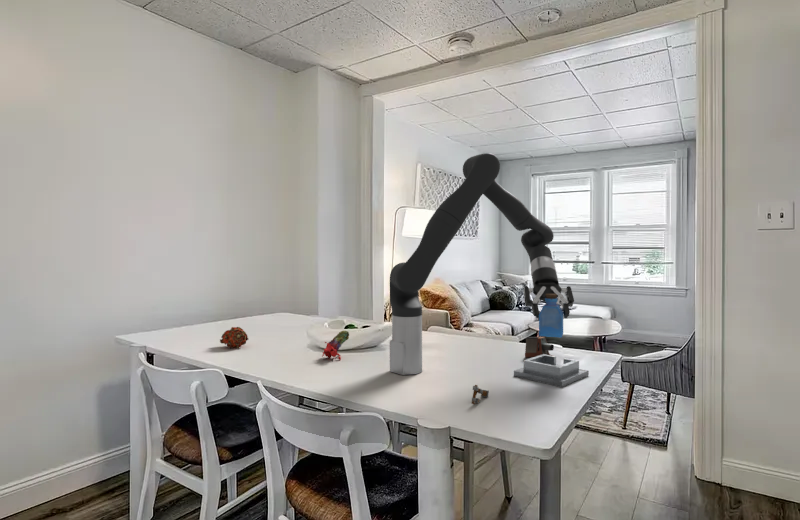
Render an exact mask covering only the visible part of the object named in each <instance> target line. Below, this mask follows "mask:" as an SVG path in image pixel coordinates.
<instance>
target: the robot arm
mask: <svg viewBox="0 0 800 520" xmlns="http://www.w3.org/2000/svg"><path fill="white" fill-rule="evenodd" d="M500 169H501V163H500V160H499V158H498V156H496V155H495V154H494V153H489V152H486V153H485V152H483V153H479V154H476V155H473V156H470V157H468V158H467V159H466V160H465V161H464V163H463V164H462V174H463V176H464V178H465V180H464V181H463V182H462V183H461V184H460V186H458V188H456V190H454V192H452V193H451V194H450V195H448V197H447V198H445V199H444V201H443V202H441V203H440V205H439V206H438V207H437V209H436V210H435V211H434V212H433V214H432V216H431V217H430V219H429V220H428V223H427V224H426V225H425V229H424V232H423V234H422V238H421V240H420V242H419V244H418V246H417V248H416V249H415V250H414V252H413V253H412V254H411V255H410V257H409V258H408V259H407V260H406V262H399V263H397V264H395V266H393V268H392V269H391V271H390V273H389V303H390V307H391V308H390V309H391V339H390V340H389V372H391V373H395V374H397V375H398V374H399V375H401V376H406V375H415V374H416V375H417V374H421V372H423V307H422V305H421V302H420V299H419V291H421V289H422V288H423V287H424V285H425V284H426V281H427V280H428V278H429V277H430V274H431V272H432V270H433V269H434V266H435V265H436V263H437V261H438V260H439V258H440V257H441V255H442V254H443V253H444V252H445V250H446V249H447V247H448V246H449V245H450V244H451V241H452V240H453V239H454V238H455V236H456V235H457V233H458V231H459V230H460V229H461V227H462V226H463V224H464V222H465V221H466V219H467V218H468V216H469V215H470V213H471V212H472V210H473V209H474V207H475V206H476V204H477V203H478V202H479V200H480V198H482V196H485V197H486V198H487V200H488V201H490V202H491V203H492V204H493V205H494V206H495V207H496V208H497V209H498V210H499V211H500V213H502V214H503V216H504V217H505V218H506V219H507V220H508V222H509V223H510V224H511V226H512V227H513V228H514V229H516V230H517V231H521V232H522V231H525V230H527V231H526V232H524V233H523V234H522V235H521V238H520V241H521V245H522V246H523V247H524V249H525V251H526V252H527V256H528V258H529V263H530V275H531V276H530V277H531V280H532V287H529V286H527V285H526V286H524V289H523V299H524V306H525V307H531V310H532V315H533V317H535V318H536V319H539V314H540V311H539V304H540V303H541V302H545V298H546V294H557V296H556V298H557V302H556V305H559V306H560V307H562V308H561V309H562V311H563V319H567V318H568V317H569V316H570V313H571V311H570V308H571V307H573V305H574V303H575V297H574V294H573V290H572V287H571V286H569V285H567V286H566V287H561V286H560V283H559V279H558V274H557V269H556V266H555V262H554V260H553V255H552V251H551V249H550V247H549V246H547V245H548V244H550V243H551V242H553V240H554V231H553V230H552V229H551V228H550V226H549V225H547V223H545V222H543V221H541V220H540V219H538V218H537V217H536V216H534V214H532V212H530V210H529V209H528V208H527V207H526V205H525V204H524V203H523V202H522V201H521V200H520V199H519V198H517V197H516V196H515V195H514V194H512V193H511V192H510V191H508V190H506V189H505V188H504V187H503V186H502V185H501V184H499V182H497V181H496V179H497V178H498V175H499V173H500ZM532 293H533V295H534V296H535V297H534V299H533V300H531V298H530V296H531V294H532ZM564 296H565V297H566V298H565V297H564Z"/></svg>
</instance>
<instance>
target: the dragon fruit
mask: <svg viewBox="0 0 800 520" xmlns="http://www.w3.org/2000/svg"><path fill="white" fill-rule="evenodd" d="M221 335H222V336H221V339H219V343H220V344H224V345H226V347H227V348H229V349H232V348H235V349H240V348H241V347H242V346H244V345H246V343H247V341H249V336H248V334H247V332H246V331H245V330H244V329H243V328H242V327H240V326H236V327H235V326H232V327H231V328H230V329H228V330H225V331H224V332H223V333H222V334H221ZM239 347H240V348H239Z"/></svg>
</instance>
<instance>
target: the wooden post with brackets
mask: <svg viewBox="0 0 800 520" xmlns="http://www.w3.org/2000/svg"><path fill="white" fill-rule="evenodd" d="M472 390H473V393H472V397H471V404H472V405H476V403H477V404H478V402H479V403H480V401H481V400H480V398H478V397H477V394H480V397H481V396H482V398H487V397H488V398H489V393H490V392H489V390H486V389H482V388H479V386H478V384H475V385H473V386H472Z"/></svg>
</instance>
